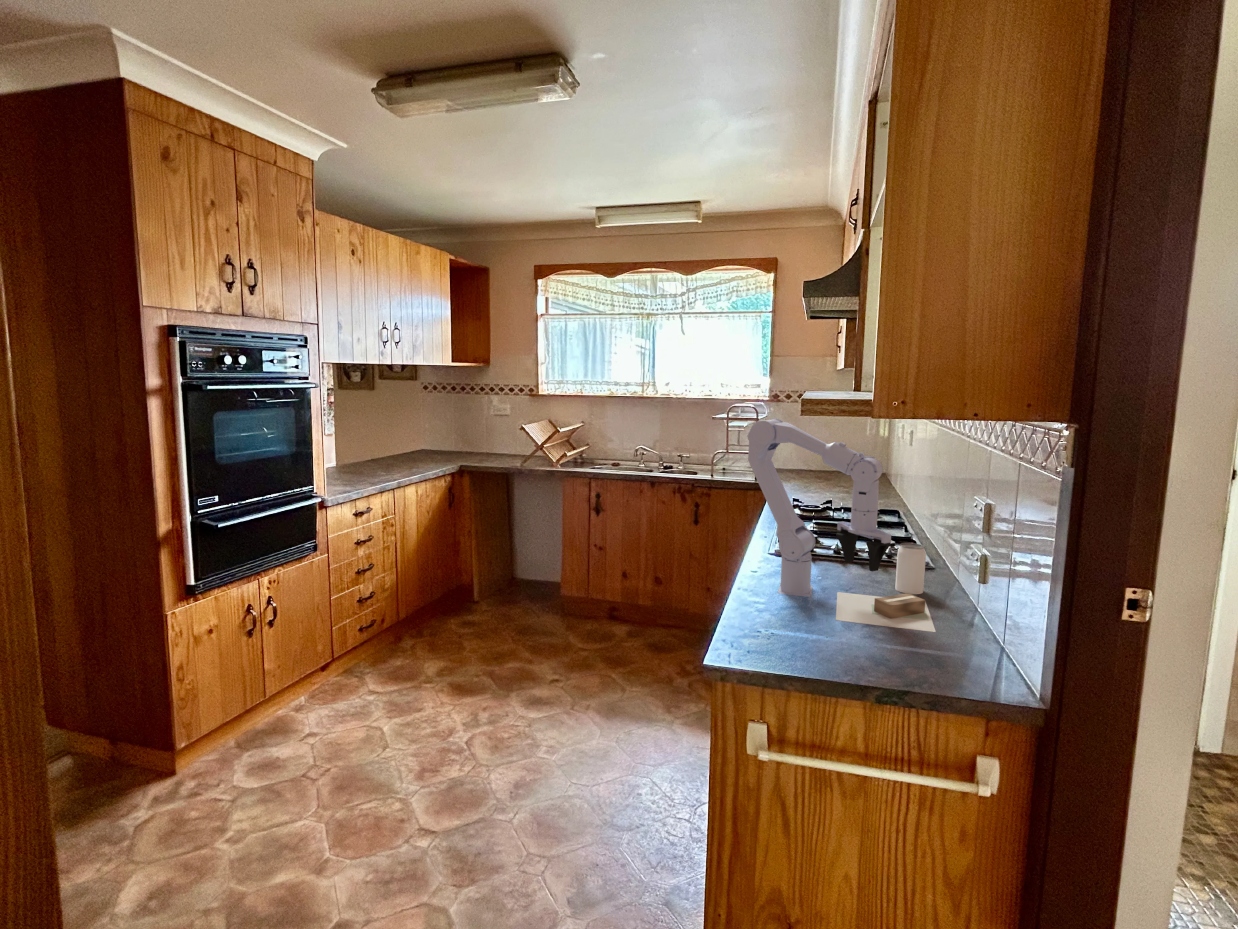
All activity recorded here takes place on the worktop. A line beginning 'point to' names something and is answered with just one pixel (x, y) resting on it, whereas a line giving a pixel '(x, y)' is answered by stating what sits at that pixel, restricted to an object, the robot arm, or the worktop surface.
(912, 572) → the can
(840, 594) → the mat
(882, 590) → the worktop surface
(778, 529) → the robot arm
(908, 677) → the worktop surface
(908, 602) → the tissue box
